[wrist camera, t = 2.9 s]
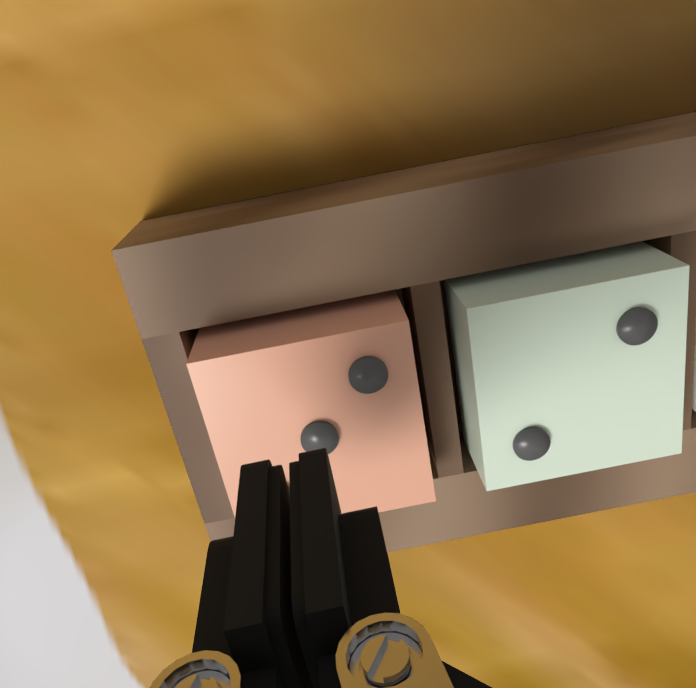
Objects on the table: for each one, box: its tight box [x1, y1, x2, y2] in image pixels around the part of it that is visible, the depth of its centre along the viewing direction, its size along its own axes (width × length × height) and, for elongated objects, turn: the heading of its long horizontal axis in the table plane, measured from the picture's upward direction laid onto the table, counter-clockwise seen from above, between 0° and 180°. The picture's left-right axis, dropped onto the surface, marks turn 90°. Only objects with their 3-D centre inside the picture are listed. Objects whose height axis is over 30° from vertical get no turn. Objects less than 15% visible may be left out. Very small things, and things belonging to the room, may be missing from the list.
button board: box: [111, 112, 696, 552], centre depth 18 cm, size 20×10×3 cm, turn 100°
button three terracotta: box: [186, 290, 436, 517], centre depth 16 cm, size 5×5×2 cm
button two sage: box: [444, 241, 690, 491], centre depth 16 cm, size 5×5×2 cm
